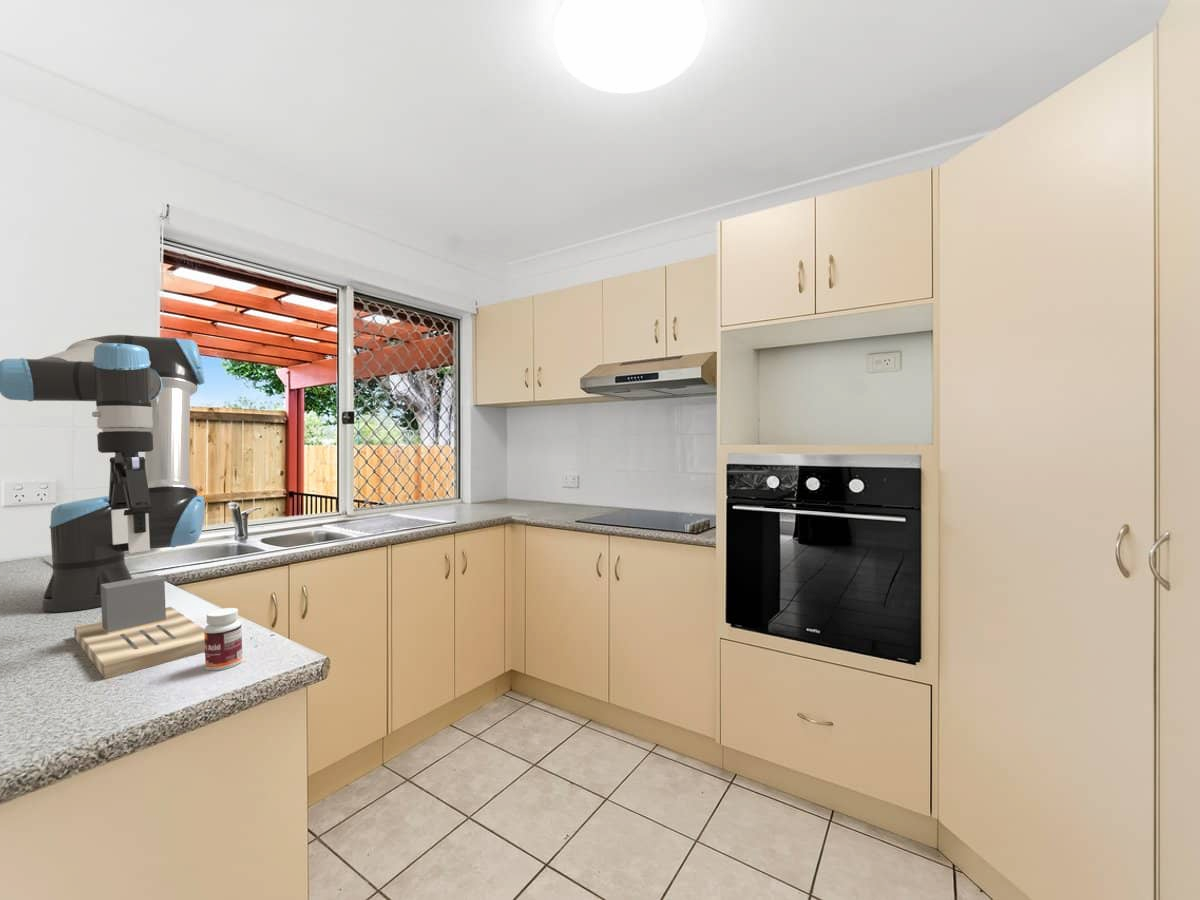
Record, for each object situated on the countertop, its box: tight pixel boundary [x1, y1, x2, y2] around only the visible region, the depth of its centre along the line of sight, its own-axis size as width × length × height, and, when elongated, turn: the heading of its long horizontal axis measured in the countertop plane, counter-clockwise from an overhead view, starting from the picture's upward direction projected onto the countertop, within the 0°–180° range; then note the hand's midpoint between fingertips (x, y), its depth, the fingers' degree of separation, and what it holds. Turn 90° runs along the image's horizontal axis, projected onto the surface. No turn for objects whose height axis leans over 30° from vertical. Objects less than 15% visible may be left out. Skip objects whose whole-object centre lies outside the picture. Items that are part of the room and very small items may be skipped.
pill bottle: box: [204, 607, 243, 671], centre depth 83 cm, size 5×5×8 cm
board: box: [73, 606, 205, 680], centre depth 93 cm, size 28×14×2 cm, turn 51°
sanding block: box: [100, 574, 167, 634], centre depth 97 cm, size 8×5×8 cm, turn 141°
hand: (130, 547), depth 97 cm, fingers open, 13 cm apart
